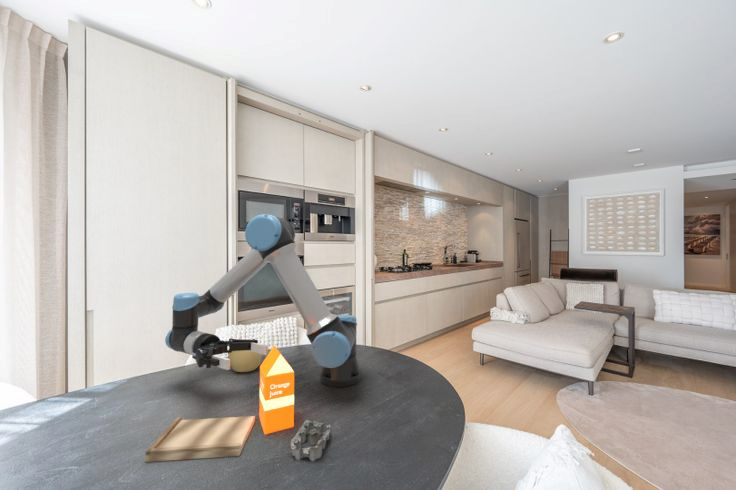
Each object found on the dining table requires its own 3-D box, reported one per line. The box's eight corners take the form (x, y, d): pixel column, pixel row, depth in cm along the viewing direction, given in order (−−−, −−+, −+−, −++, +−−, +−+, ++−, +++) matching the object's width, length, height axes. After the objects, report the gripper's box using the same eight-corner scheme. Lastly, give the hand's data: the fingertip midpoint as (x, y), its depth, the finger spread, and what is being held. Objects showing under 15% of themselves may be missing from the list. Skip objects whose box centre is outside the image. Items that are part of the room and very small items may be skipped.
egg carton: (318, 464, 68) (318, 446, 68) (287, 459, 69) (287, 441, 69) (333, 435, 78) (333, 419, 78) (305, 432, 80) (305, 416, 80)
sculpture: (249, 361, 128) (250, 336, 128) (267, 368, 121) (267, 341, 121) (223, 370, 119) (223, 342, 119) (240, 378, 112) (241, 348, 112)
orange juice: (264, 434, 78) (264, 356, 78) (258, 417, 86) (259, 346, 86) (294, 426, 82) (295, 351, 82) (286, 411, 89) (287, 342, 90)
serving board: (254, 421, 84) (255, 413, 84) (239, 455, 70) (239, 445, 70) (177, 425, 82) (177, 417, 82) (145, 462, 68) (145, 451, 68)
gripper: (235, 346, 110) (279, 356, 100) (161, 369, 88) (209, 386, 78) (235, 325, 110) (280, 333, 100) (162, 343, 88) (209, 357, 78)
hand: (249, 357), depth 89 cm, fingers open, 13 cm apart
